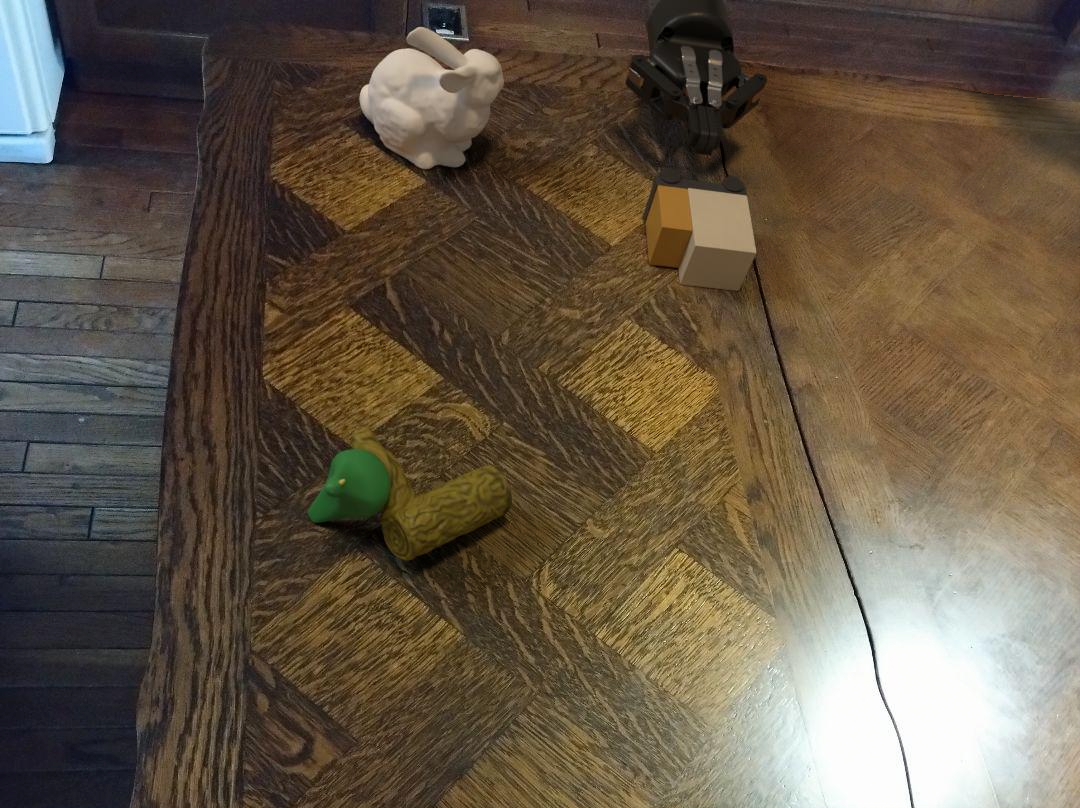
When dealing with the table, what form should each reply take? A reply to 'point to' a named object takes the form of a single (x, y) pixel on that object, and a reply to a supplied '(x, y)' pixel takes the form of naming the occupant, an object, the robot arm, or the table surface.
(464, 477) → the bird figurine
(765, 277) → the table surface
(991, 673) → the table surface
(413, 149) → the rabbit
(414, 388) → the table surface
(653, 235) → the cream truck
